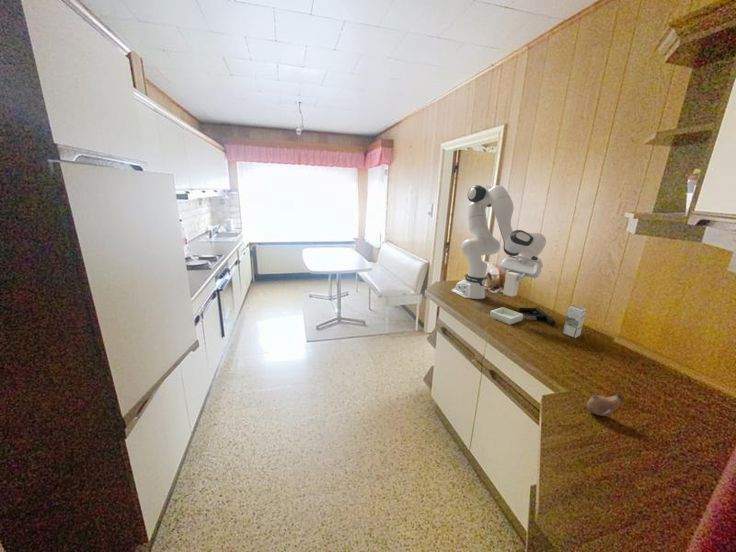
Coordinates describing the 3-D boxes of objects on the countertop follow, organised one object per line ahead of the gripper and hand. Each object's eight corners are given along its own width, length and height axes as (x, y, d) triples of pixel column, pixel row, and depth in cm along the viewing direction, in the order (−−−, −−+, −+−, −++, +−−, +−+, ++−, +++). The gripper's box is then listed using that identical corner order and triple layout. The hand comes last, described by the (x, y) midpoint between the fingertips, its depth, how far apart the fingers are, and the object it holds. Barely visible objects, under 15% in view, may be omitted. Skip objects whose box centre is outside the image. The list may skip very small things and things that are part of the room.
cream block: (502, 293, 154) (506, 272, 151) (508, 292, 157) (511, 271, 153) (511, 296, 150) (515, 275, 147) (516, 295, 153) (520, 273, 149)
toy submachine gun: (526, 320, 151) (558, 320, 149) (512, 306, 170) (540, 306, 168) (525, 325, 152) (557, 326, 150) (511, 311, 171) (540, 311, 169)
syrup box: (580, 335, 140) (587, 308, 136) (574, 338, 137) (581, 310, 133) (567, 330, 145) (574, 304, 141) (561, 333, 142) (568, 306, 138)
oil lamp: (613, 412, 90) (620, 391, 88) (621, 422, 86) (629, 400, 84) (582, 408, 91) (588, 387, 89) (589, 417, 87) (596, 395, 85)
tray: (489, 316, 159) (490, 310, 158) (501, 312, 165) (502, 306, 164) (509, 325, 149) (510, 318, 148) (522, 320, 156) (523, 314, 155)
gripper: (505, 251, 159) (492, 270, 157) (543, 259, 143) (529, 280, 141) (509, 258, 163) (496, 277, 161) (546, 267, 147) (532, 287, 144)
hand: (512, 279), depth 151 cm, fingers closed on cream block, 5 cm apart
